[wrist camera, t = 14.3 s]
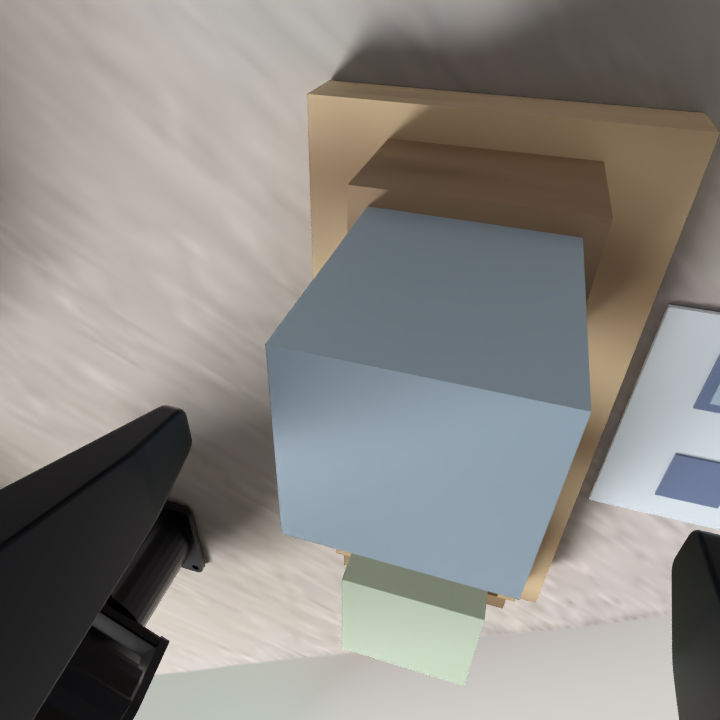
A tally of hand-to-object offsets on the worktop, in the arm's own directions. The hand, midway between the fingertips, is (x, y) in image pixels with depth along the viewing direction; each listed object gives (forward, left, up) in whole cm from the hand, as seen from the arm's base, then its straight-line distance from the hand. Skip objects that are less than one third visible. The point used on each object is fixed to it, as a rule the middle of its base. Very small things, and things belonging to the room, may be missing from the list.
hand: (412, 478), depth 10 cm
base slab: (-7, 0, -12) cm, 14 cm away
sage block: (-13, 0, -10) cm, 16 cm away
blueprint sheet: (-7, -10, -12) cm, 17 cm away
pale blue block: (0, 0, -6) cm, 6 cm away
